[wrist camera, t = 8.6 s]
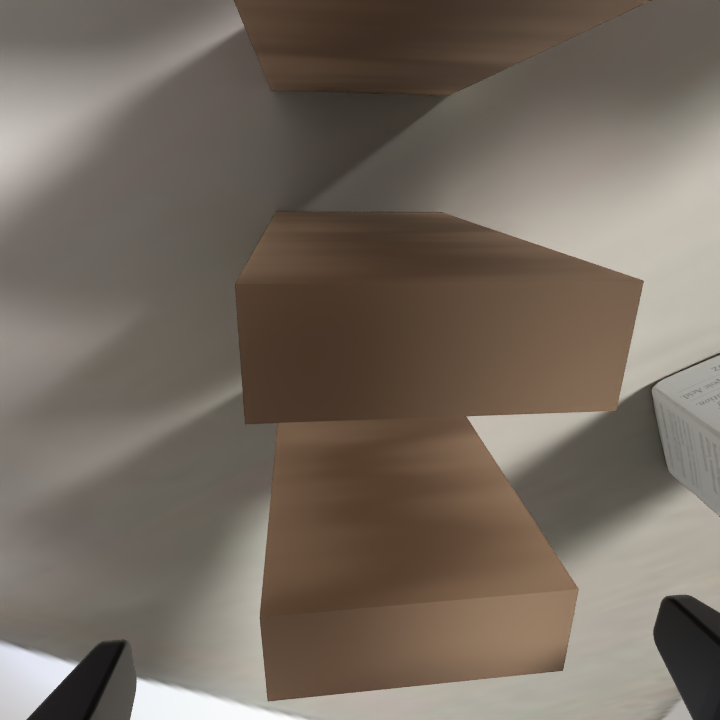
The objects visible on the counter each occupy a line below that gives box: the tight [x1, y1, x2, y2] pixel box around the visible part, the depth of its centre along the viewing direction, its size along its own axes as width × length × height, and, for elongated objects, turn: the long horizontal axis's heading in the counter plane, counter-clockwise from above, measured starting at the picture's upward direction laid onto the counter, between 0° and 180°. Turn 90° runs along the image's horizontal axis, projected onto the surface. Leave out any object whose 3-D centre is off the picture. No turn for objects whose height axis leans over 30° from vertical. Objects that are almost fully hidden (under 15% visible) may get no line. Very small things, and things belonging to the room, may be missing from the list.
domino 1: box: [234, 0, 651, 95], centre depth 9 cm, size 5×2×10 cm, turn 89°
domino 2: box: [235, 211, 644, 424], centre depth 11 cm, size 5×2×10 cm, turn 89°
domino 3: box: [260, 416, 579, 701], centre depth 13 cm, size 5×2×10 cm, turn 90°
